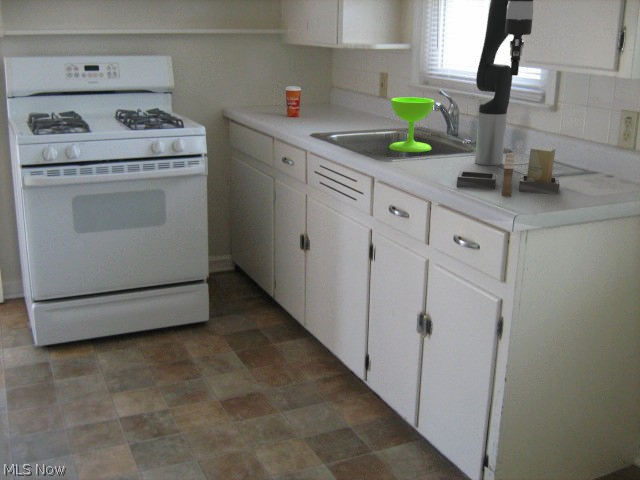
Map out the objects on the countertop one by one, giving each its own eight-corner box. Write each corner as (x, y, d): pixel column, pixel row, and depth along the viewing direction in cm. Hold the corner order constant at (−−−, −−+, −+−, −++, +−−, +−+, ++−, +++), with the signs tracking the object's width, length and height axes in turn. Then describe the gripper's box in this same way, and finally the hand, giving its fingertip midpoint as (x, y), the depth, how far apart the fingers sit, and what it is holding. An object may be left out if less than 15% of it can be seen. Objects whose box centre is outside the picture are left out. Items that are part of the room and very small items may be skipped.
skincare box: (525, 189, 218) (529, 148, 215) (529, 186, 222) (534, 146, 218) (546, 192, 215) (551, 150, 211) (551, 189, 218) (555, 148, 215)
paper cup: (283, 117, 353) (283, 87, 349) (287, 114, 360) (287, 85, 356) (298, 117, 352) (299, 88, 347) (303, 115, 359) (303, 86, 354)
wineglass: (419, 153, 270) (421, 103, 264) (381, 148, 278) (383, 100, 273) (438, 147, 282) (441, 99, 277) (401, 142, 291) (404, 96, 285)
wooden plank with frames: (461, 175, 235) (462, 150, 233) (556, 181, 228) (559, 156, 226) (454, 192, 213) (456, 165, 210) (559, 200, 206) (562, 172, 204)
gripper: (506, 17, 224) (502, 72, 229) (505, 17, 211) (500, 75, 216) (532, 17, 222) (527, 72, 227) (532, 18, 209) (527, 76, 214)
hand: (514, 74), depth 221 cm, fingers open, 8 cm apart
